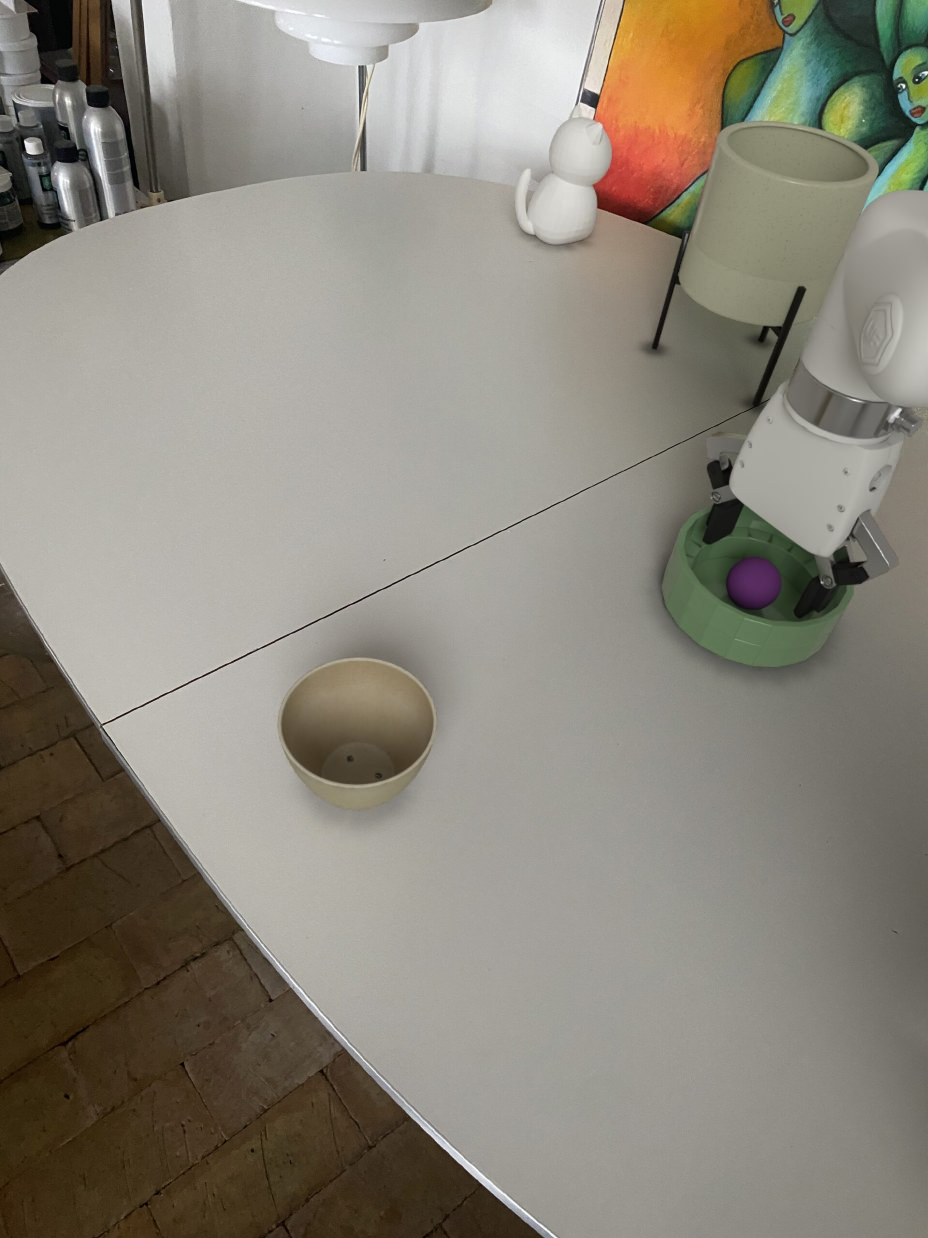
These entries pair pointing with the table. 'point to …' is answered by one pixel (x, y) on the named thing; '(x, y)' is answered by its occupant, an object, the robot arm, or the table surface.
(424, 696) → the flower pot
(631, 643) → the table surface
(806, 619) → the bowl
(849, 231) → the planter
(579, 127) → the cat figurine
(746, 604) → the ball
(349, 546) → the table surface
